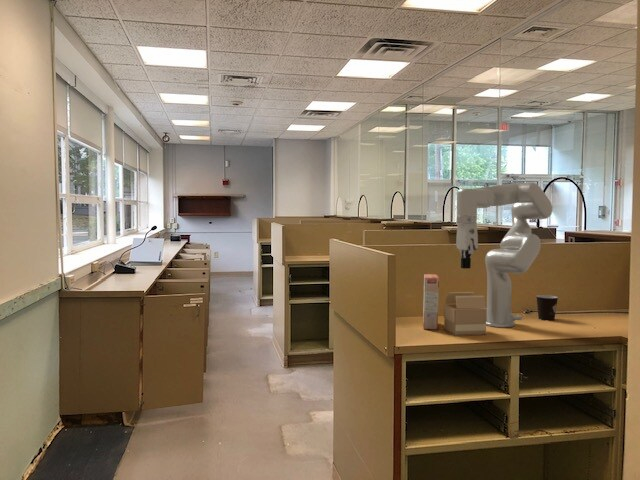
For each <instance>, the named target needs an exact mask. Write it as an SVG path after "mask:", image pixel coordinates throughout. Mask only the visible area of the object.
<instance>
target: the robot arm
mask: <svg viewBox="0 0 640 480" xmlns="http://www.w3.org/2000/svg"><path fill="white" fill-rule="evenodd" d="M506 205H512V206H511V208H510V211H511V221H512V223H511V227H510V229H509V230H508V231H507V233H506V234H505V235H504V237H503V238H502V239H501V241H500V244H499V247H500V248H494V249H490V250H489V251H487V253H486V255H485V258H484V262H485V263H484V264H485V268H486V277H487V278H486V279H487V280H486V281H487V283H486V285H487V287H486V309H487V322H486V326H489V327H495V328H512V327H514V326H515V324H516V323H515V321H522V320H523V316H522V315H519V314H518V315H516V314H514V313H512V286H513V285H512V280H511V277H510V275H509V274H517V275H520V274H524V273H526V272H527V271H528V270H529V268H530V267H531V266H532V264H533V263H534V261H535V260H536V258H537V257H538V256H539V253H540V251H541V246H542V245H541V244H542V243H541V239H540V237H539V236H538V235H537V234H534V233H532V232H533V231H532V228H531V225H530V224H529V223H528V221H527V220H546V219H548V218H550V217H551V216H552V214H553V205H552V202H551V200H550V198H549V197H548V196H547V195H546V193H545V191H544V190H543V189H542V187H541V186H539V185H538V183H535V182H531V181H530V182H513V183H507V184H497V185H489V186H485V187H477V188H459V189H458V190H457V192H456V220H455V221H456V223H455V224H456V225H457V227H456V228H457V229H456V238H455V239H456V249H458V252H459V253H460V268H461V269H463V270H464V269H471V266H472V265H471V259H472V255H473V254H474V251H477V250H478V248H479V234H478V226H477V223H478V209H487V208H490V207H500V206H501V207H502V206H506Z"/></svg>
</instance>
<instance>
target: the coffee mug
mask: <svg viewBox="0 0 640 480" xmlns="http://www.w3.org/2000/svg"><path fill="white" fill-rule="evenodd" d="M558 299H559V296H555V295H549V294H547V295H546V294H545V295H544V294H538V295H536V307H537V315H538V317H537V318H538V320H540V319H541V320H540V321H546V320H548V322H549V321H550V322H552V321H555V319H556V314H557V313H556V312H557V306H558Z"/></svg>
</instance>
